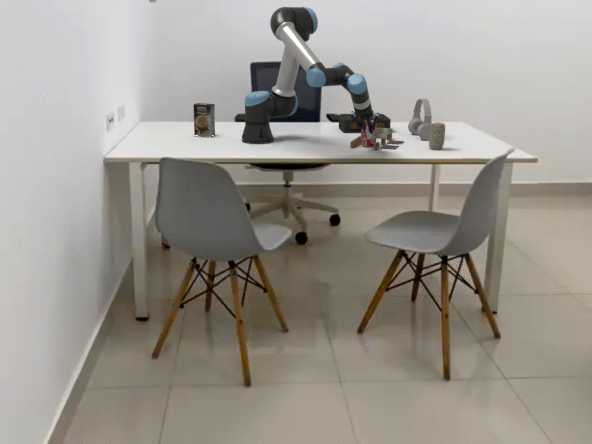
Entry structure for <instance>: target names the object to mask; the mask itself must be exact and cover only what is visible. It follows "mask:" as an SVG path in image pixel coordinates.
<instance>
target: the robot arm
mask: <svg viewBox="0 0 592 444" xmlns="http://www.w3.org/2000/svg"><path fill="white" fill-rule="evenodd" d="M318 22H319V21H318V17H317V14H316V12H315V11H314V10H313V9H312V8H310V7H304V6H301V7H300V6H299V7H298V6H296V7H295V6H282V7H281V6H280V8H279V7H278V8H277V9H276V10H275V11H273V13H272V15H271V17H270V21H269V24H270V29H271V31H272V34H273V35H274V37H275V39H277V41H281V42H282V43H283V45H284V49H283V52H282V57H281V58H282V59H281V63H280V66H279V71H278V76H277V80H276V84H275V85H273V86H272V88H271V92H269V91H267V90H259V91H258V90H257V91H253V92H252V91H251V92H250V93H247V94H246V95H245V98H244V117H245V118H244V120H245V121H244V123H245V124H244V127H243V131H242V134H241V142H242V143H245V144H246V143H247V144H253V143H254V145H255V144H256V145H257V144H258V145H259V144H268V143H269V144H270V143H272V142H273V141H274V136H273V135H274V134H273V133H272V129H271V126H270V125H271V124H270V119H275V118H287V117H289V116H293V115H294V114H295V113H296V112H297V110H298V107H299V106H298V105H299V101H298V96H297V94H296V93H297V92H296V91H295V90H294V88H295V85H296V84H295V83H296V80H297V75H298V71H299V68H300V66H301V68H302V69H303V70H304V71H305V73H306V76H305V79H306V81H307V84H308V86H309V87H313V88H324V87H334V86H335V87H336V86H337V87H338V86H341V87H342V88H343V89H345V90H346V91H347V92H348V93H349V95H350V98H351V102H352V105H353V109H354V110H352V111H351V112H350V113H349V114H350V117H351V118H353V120H354V121H355V123H356V125H357V126H358V128H359V129H361V128H362V129H363V130H364V133H365V134H366V135H367V139H371V138H372V133H373V130H375V127H376V122H377V119H378V116H379V114H380V112H378V111H377V112H375V111H374V109H373V107H372V103H371V98H370V93H369V90H368V89H369V88H368V82H367V81H366V77H365V76H364V75H363V74H361V73H355V72H354V71H353V70H352V69H351V67H349V66H348V65H346V64H345V63H343V62H337V63H336V64H334V65H333V66H332V67H325V65H324V64H323V62H322V61H321V60H320V59H319V58H318V57H317V56H316V54H315V53H314V52H313V50H312V49H311V48H310V46H309V45H308V44H307V42H309V41H310V37H311V35H313V34H315V33H316V32H317V30H318V26H319V25H318V24H319V23H318ZM372 115H373V117H374V121H373V125H372V122H371V118H370V117H371V116H372ZM359 118H360V119H359ZM365 119H366V121H367V124H366V121H365ZM366 125H368V126H366Z"/></svg>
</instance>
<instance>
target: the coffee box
mask: <svg viewBox="0 0 592 444" xmlns="http://www.w3.org/2000/svg"><path fill="white" fill-rule="evenodd" d="M215 105H216V104H215V103H206V102H205V103H204V102H203V103H202V102H200V103H199V102H197V103H193V129H194V130H193V131H194V132H193V133H194V134H193V135H198V136H212V135H215V136H216V126H215V125H216V124H215V120H216V118H215V117H216V116H215V113H216V112H215V111H216V110H215Z"/></svg>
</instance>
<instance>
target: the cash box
mask: <svg viewBox="0 0 592 444" xmlns="http://www.w3.org/2000/svg"><path fill="white" fill-rule="evenodd" d="M350 114H351V113H340V114H338V129H339V130H340V131H341V132H342V133H343V134H361V129H359V128H358V126H357V125H356V123H355V121H354V120H353V118H351V117H350ZM370 118H371V120H374V117H373V115H372V116H371V117H370ZM359 119H360V118H359ZM365 120H366V119H365ZM376 124H377V128H387V129H391V118H390V117H388V116H386V115H385V114H384V113H379V116H378V119H377V122H376Z"/></svg>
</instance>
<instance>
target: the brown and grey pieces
mask: <svg viewBox="0 0 592 444" xmlns="http://www.w3.org/2000/svg"><path fill="white" fill-rule="evenodd" d="M380 138H381V139H380ZM376 139H380V141H376V143H375V146H374V151H379V150H380V149H384V150H397V149H398V148H400V145H399V144H401V145H402V144H404V142H405V140H394V139H393V128H390V129H387V128H377V133H376ZM392 139H393V140H392ZM388 140H390V141H388ZM386 141H387V142H386ZM359 145H361V134H360V135H359V136H357V137H356V138H354V139H353V140H351V141H350V145H349V146H350V149H354V148H357V147H358V146H359ZM396 148H397V149H396Z"/></svg>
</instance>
